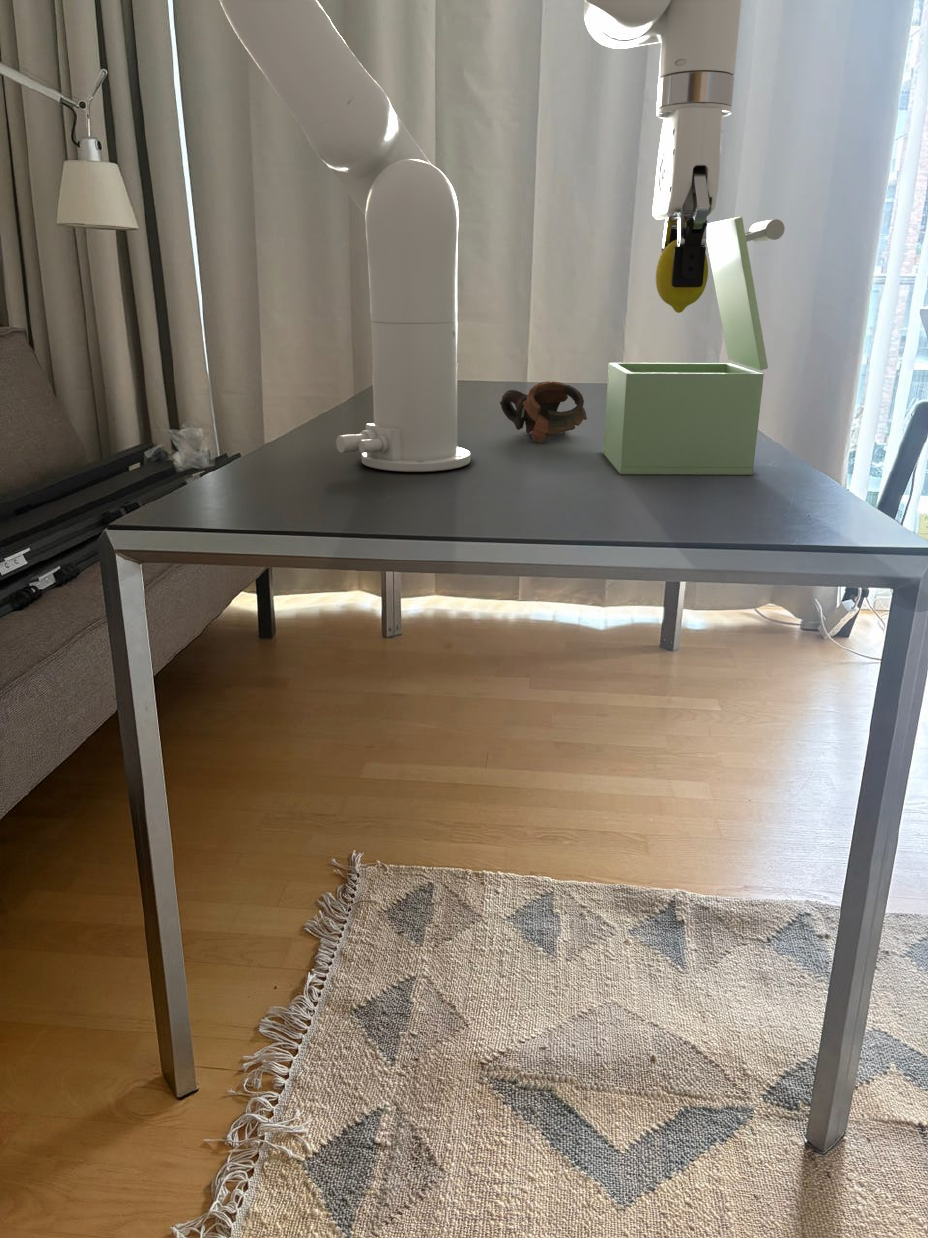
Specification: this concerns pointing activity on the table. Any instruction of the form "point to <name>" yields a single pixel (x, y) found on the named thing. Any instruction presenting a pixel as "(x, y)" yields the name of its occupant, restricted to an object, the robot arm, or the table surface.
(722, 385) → the chest
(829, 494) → the table surface
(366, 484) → the table surface
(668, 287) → the lemon
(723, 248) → the lid
